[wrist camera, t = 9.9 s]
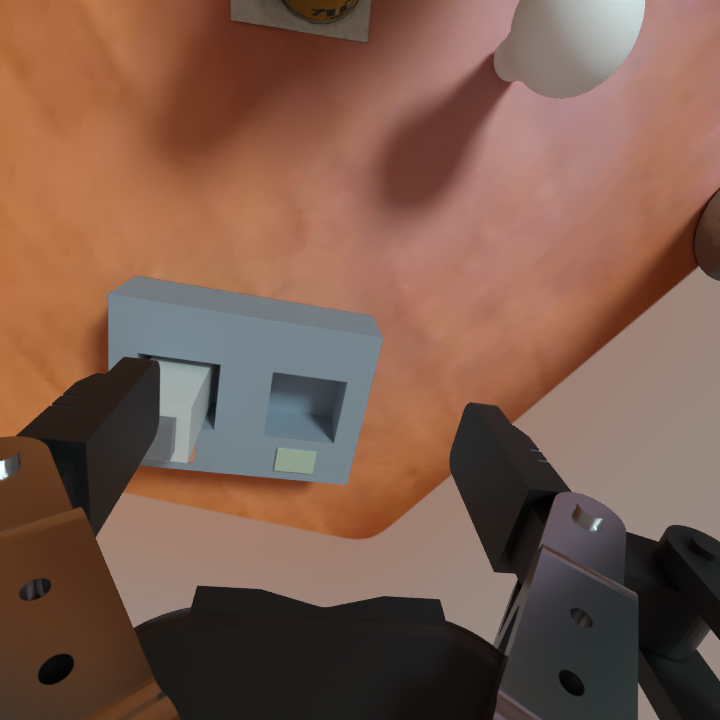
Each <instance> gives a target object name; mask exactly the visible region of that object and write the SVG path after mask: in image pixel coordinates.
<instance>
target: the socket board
mask: <svg viewBox="0 0 720 720" xmlns="http://www.w3.org/2000/svg"><path fill="white" fill-rule="evenodd" d="M382 341H383V337H382V335H381V333H380V330H379V328H378V326H377V324H376V322H375V320H374V318H373V316H368V315H362V314H357V313H351V312H345V311H339V310H333V309H327V308H321V307H316V306H310V305H304V304H298V303H292V302H286V301H280V300H275V299H269V298H263V297H257V296H251V295H245V294H239V293H234V292H228V291H222V290H216V289H210V288H204V287H198V286H193V285H187V284H181V283H175V282H169V281H163V280H158V279H152V278H146V277H140V276H135V277H133V278H132V279H130V280H128V281H127V282H125V283H124V284H122V285H121V286H119V287H118V288H116V289H115V290H113V291H112V292H110V293H109V294H108V368H109V371H110V370H111V369H112V368H113V367H114V366H115V365H116V364H117V363H118V362H119V361H120V360H121V359H122V358H123V357H132V358H140V359H148V360H150V359H151V358H152V356H153V355H155V356H162V357H169V358H177V359H184V360H191V361H198V362H205V363H212V364H217V369H216V379H215V389H214V396H213V399H212V401H211V404H210V406H209V409H208V411H207V414H206V416H205V419H204V422H203V424H202V427H201V429H200V432H199V434H198V437H197V440H196V442H195V445H194V447H193V450H192V452H191V455H190V458H189V460H188V463H183V462H173V461H163V460H152V459H142V461H141V463H140V464H139V466H150V467H160V468H171V469H182V470H192V471H203V472H214V473H224V474H235V475H246V476H256V477H267V478H278V479H289V480H299V481H310V482H321V483H331V484H342V485H347V482H348V478H349V474H350V470H351V466H352V462H353V458H354V454H355V450H356V446H357V442H358V438H359V434H360V430H361V426H362V421H363V417H364V413H365V409H366V405H367V401H368V397H369V393H370V389H371V385H372V381H373V377H374V373H375V369H376V365H377V361H378V357H379V353H380V349H381V345H382Z"/></svg>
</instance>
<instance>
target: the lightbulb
mask: <svg viewBox="0 0 720 720" xmlns="http://www.w3.org/2000/svg"><path fill="white" fill-rule="evenodd" d="M644 9H645V0H520V1H519V3H518V6H517V8H516V10H515V14H514V17H513V20H512V25H511V32H510V33H509V34H508V36H507V38H506V39H505V40H503V41H502V42H501V43H500V45H499V46H498V48H497V50H496V52H495V55H494V68H495V71H496V73H497V75H498V76H499V77H500V78H501V79H502V80H504V81H507V82H512V81H522V82H523V83H524V84H525V85H526V86H527V87H528V88H529V89H531V90H532V91H534V92H536V93H537V94H540V95H543V96H546V97H550V98H561V99H563V98H569V97H574V96H578V95H581V94H583V93H586V92H588V91H590V90H592V89H593V88H595V87H596V86H598V85H599V84H601V83H602V82H604V81H605V80H606V79H608V78H609V77H610V76H611V75H612V74H613V73H614V72H615V71H616V70H617V69H618V68H619V67H620V65H621V64H622V63H623V62H624V60H625V59H626V58H627V57H628V55H629V53H630V51H631V50H632V48H633V46H634V44H635V42H636V39H637V37H638V34H639V32H640V29H641V25H642V21H643V17H644Z"/></svg>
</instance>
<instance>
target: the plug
mask: <svg viewBox="0 0 720 720" xmlns="http://www.w3.org/2000/svg"><path fill="white" fill-rule="evenodd" d="M150 360H155V361H158V362H159V365H160V418H159V425H158V430H157V433H156V436H155V439H154V441H153V443H152V444H151V446H150V448H149V449H148V451H147V453H146V454H145V456H144V458H143V459H152V460H163V461H173V462H183V463H188V460H189V458H190V455H191V452H192V450H193V447H194V445H195V442H196V440H197V437H198V434H199V432H200V429H201V427H202V424H203V422H204V419H205V416H206V414H207V411H208V409H209V406H210V404H211V401H212V399H213V396H214V389H215V379H216V369H217V364H212V363H205V362H198V361H191V360H184V359H177V358H169V357H162V356H155V355H153V356H152V358H151V359H150Z"/></svg>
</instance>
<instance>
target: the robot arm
mask: <svg viewBox="0 0 720 720" xmlns="http://www.w3.org/2000/svg"><path fill="white" fill-rule="evenodd" d="M695 254H696V259H697V262H698V264H699V266H700V268H701V269H702V270H703V271H704V272H705V273H706V274H707V275H708V276H710V277H711V278H713V279H715V280H719V281H720V190H719V191H718V192H717V194H716V195H715V196H714V197H713V199H712V200H711V201H710V202H709V204H708V206H707V207H706V209H705V211H704V213H703V214H702V217H701V219H700V222H699V224H698V227H697V231H696V236H695ZM159 418H160V365H159V362H158V361H155V360H148V359H140V358H132V357H123V358H122V359H121V360H120V361H119V362H118V363H117V364H116V365H115V366H114V367H113V368H112V369H111V370H110V371H109V372H107V373H106V374H100V373H96V374H94V375H91V376H89V377H87V378H84V379H82V380H80V381H77V382H76V383H75V384H73V385H72V386H71V387H70V388H69V389H68V390H67V391H66V392H64V393H63V396H60V397H59V398H58V399H57V400H56V401H54V402H53V403H52V406H49V407H48V408H47V409H45V410H44V411H43V412H42V413H41V414H40V415H39V416H38V417H36V418H35V419H34V420H33V421H32V422H31V423H30V424H29V425H27V426H26V427H25V428H24V429H23V430H22V431H21V432H20V433H19V434H17V435H16V436H10V437H0V720H638V683H639V684H640V686H641V688H642V689H643V691H644V693H645V695H646V697H647V698H648V700H649V702H650V704H651V705H652V707H653V709H654V711H655V712H656V714H657V716H658V718H659V719H660V720H720V681H719V679H718V678H717V677H716V675H715V674H714V673H713V671H712V670H711V669H710V667H709V666H708V664H707V663H706V662H705V660H704V659H703V658H702V656H701V655H700V653H699V652H698V651H697V649H696V648H697V647H698V646H699V644H700V643H701V642H702V640H703V639H704V638H705V636H706V635H707V634H708V632H709V631H710V629H711V630H712V631H713V632H714V633H715V635H716V636H717V637H718V639H719V640H720V542H719V541H718V540H716V539H714V538H712V537H711V536H709V535H707V534H705V533H703V532H701V531H698V530H696V529H693V528H690V527H686V526H681V525H672V526H669V527H668V528H667V529H666V531H665V532H664V534H663V536H662V537H661V539H660V540H659V542H657V541H654V540H651V539H648V538H645V537H642V536H638V535H635V534H632V533H629V532H626V528H625V525H624V524H623V522H622V520H621V519H620V518H619V517H618V516H617V515H616V514H615V513H614V512H613V511H612V510H611V509H609V508H608V507H607V506H605V505H604V504H602V503H600V502H599V501H597V500H595V499H593V498H591V497H588V496H586V495H583V494H579V493H575V492H571V490H570V489H569V488H568V487H567V485H566V484H565V483H564V481H563V480H562V479H561V477H560V476H559V475H558V474H557V472H556V471H555V470H554V468H552V466H551V465H550V463H548V462H547V459H546V458H545V457H544V456H543V454H542V453H541V452H539V449H538V448H537V447H536V445H535V444H534V443H533V441H532V440H531V439H530V438H529V437H528V436H527V435H526V434H524V433H523V432H522V431H520V430H519V429H518V428H516V427H515V426H514V425H512V424H511V423H510V422H509V420H508V419H507V418H506V416H505V415H504V414H503V412H502V411H501V410H500V408H499V407H498V406H495V405H487V404H479V403H472V402H470V403H468V404H467V405H466V407H465V409H464V412H463V415H462V418H461V421H460V424H459V427H458V430H457V433H456V436H455V439H454V442H453V445H452V449H451V453H450V470H451V473H452V476H453V478H454V480H455V483H456V485H457V487H458V489H459V492H460V494H461V497H462V499H463V501H464V503H465V506H466V508H467V510H468V513H469V515H470V517H471V520H472V522H473V524H474V527H475V529H476V531H477V534H478V536H479V538H480V540H481V543H482V545H483V547H484V550H485V552H486V554H487V557H488V559H489V561H490V564H491V566H492V568H493V571H494V572H499V573H514V574H516V576H517V578H518V580H517V582H516V584H515V586H514V589H513V591H512V594H511V596H510V600H509V602H508V605H507V607H506V610H505V613H504V616H503V619H502V622H501V624H500V627H499V630H498V633H497V636H496V639H495V642H494V644H493V645H492V644H490V643H489V642H487V641H486V640H484V639H483V638H481V637H480V636H478V635H476V634H474V633H473V632H471V631H469V630H467V629H465V628H463V627H461V626H458V625H456V624H454V623H451V622H448V621H446V620H445V616H444V613H443V609H442V605H441V602H440V600H439V599H424V598H407V597H389V596H388V597H387V596H383V597H378V598H372V599H368V600H363V601H357V602H352V603H347V604H342V605H338V606H332V607H319V606H315V605H312V604H308V603H305V602H302V601H298V600H295V599H291V598H288V597H285V596H282V595H278V594H275V593H272V592H268V591H265V590H262V589H247V588H230V587H212V586H197V589H196V592H195V596H194V599H193V603H192V606H191V607H190V608H185V609H180V610H176V611H173V612H170V613H166V614H163V615H161V616H158V617H156V618H153V619H151V620H148V621H146V622H144V623H142V624H140V625H138V626H136V627H134V628H133V626H132V624H131V621H130V619H129V616H128V614H127V612H126V609H125V607H124V605H123V602H122V600H121V598H120V595H119V593H118V590H117V588H116V586H115V583H114V581H113V578H112V576H111V574H110V571H109V569H108V567H107V564H106V562H105V560H104V557H103V555H102V552H101V550H100V548H99V545H98V543H97V540H96V536H97V534H98V533H99V531H100V529H101V528H102V526H103V524H104V523H105V521H106V519H107V518H108V516H109V514H110V513H111V511H112V509H113V508H114V506H115V504H116V503H117V501H118V499H119V498H120V496H121V494H122V493H123V491H124V489H125V488H126V486H127V484H128V483H129V481H130V479H131V478H132V476H133V474H134V473H135V471H136V469H137V468H138V466H139V464H140V463H141V461H142V459H143V458H144V456H145V454H146V453H147V451H148V449H149V448H150V446H151V444H152V443H153V441H154V439H155V436H156V433H157V430H158V425H159Z"/></svg>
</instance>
